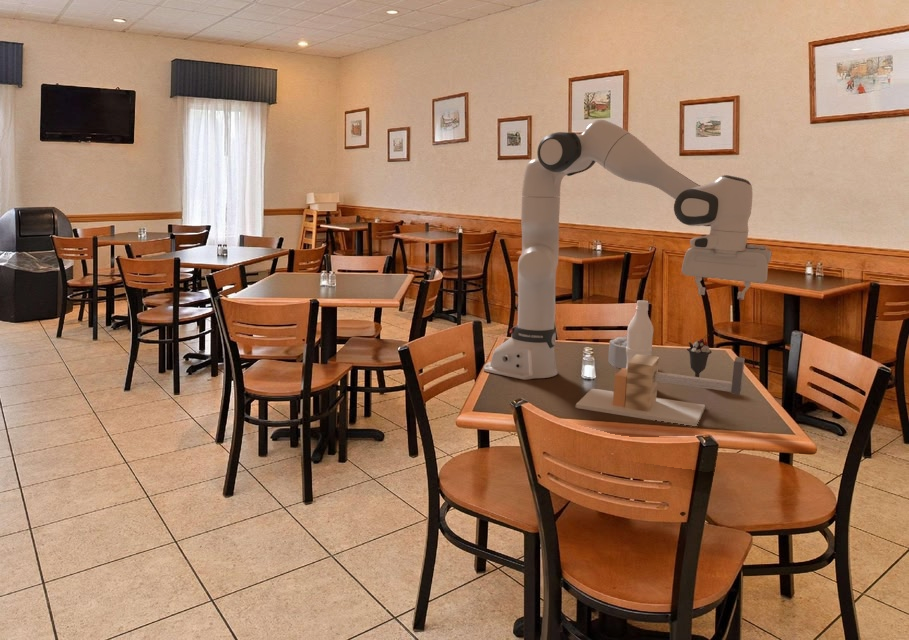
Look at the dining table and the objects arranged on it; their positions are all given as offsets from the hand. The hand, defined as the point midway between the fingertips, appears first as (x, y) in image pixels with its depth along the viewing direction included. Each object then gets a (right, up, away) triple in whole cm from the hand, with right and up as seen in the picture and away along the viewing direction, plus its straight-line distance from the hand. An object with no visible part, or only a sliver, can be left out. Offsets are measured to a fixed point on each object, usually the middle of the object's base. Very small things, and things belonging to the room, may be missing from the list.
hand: (720, 296), depth 180 cm
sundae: (+3, -25, +28) cm, 37 cm away
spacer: (-23, -27, +6) cm, 37 cm away
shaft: (-9, -22, -2) cm, 24 cm away
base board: (-19, -29, +5) cm, 35 cm away
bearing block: (-19, -28, +4) cm, 34 cm away
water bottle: (-15, -25, +24) cm, 38 cm away
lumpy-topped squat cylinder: (-12, -21, +47) cm, 53 cm away
